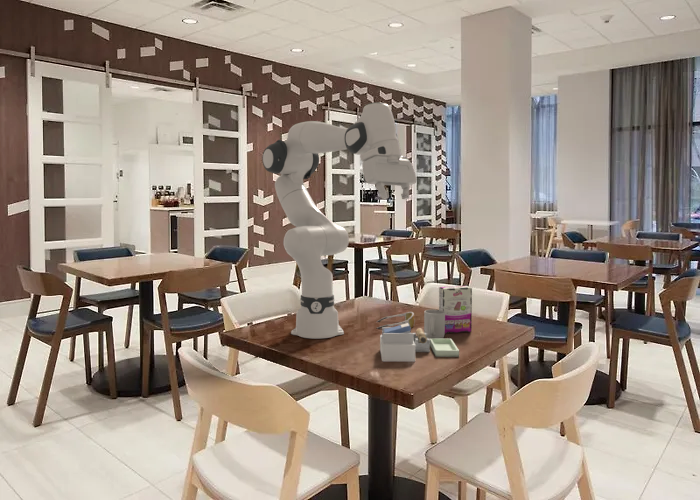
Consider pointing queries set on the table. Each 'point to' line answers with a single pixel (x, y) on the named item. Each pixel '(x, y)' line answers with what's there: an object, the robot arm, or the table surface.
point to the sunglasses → (408, 319)
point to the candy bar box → (456, 308)
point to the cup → (434, 323)
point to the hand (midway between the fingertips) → (395, 198)
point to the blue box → (398, 329)
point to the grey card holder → (397, 346)
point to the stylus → (421, 335)
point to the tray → (444, 347)
